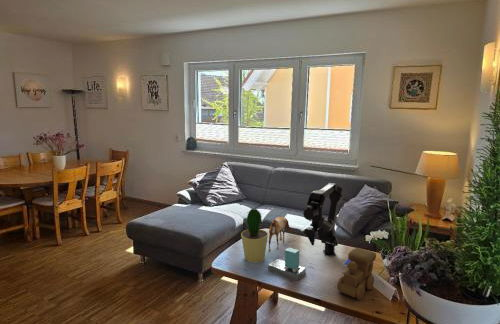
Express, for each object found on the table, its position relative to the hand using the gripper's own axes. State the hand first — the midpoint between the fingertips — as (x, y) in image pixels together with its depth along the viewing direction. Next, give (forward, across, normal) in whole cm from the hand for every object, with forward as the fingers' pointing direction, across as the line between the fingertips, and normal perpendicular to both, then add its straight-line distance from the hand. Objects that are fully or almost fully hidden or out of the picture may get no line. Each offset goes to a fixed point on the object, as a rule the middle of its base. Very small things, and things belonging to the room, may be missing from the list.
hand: (316, 242), depth 171 cm
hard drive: (+14, +14, -16) cm, 26 cm away
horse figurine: (+13, +10, +28) cm, 32 cm away
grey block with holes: (+13, -16, +9) cm, 23 cm away
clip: (+13, -16, +6) cm, 22 cm away
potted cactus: (+13, -14, +32) cm, 37 cm away
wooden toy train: (+13, -11, -26) cm, 31 cm away
